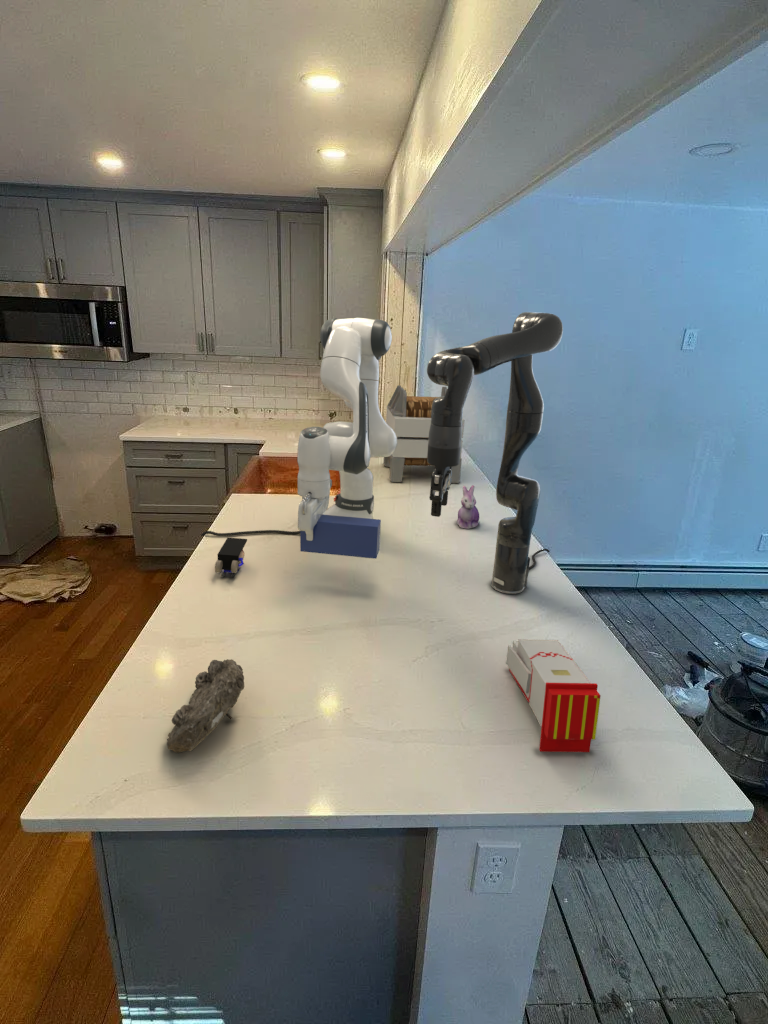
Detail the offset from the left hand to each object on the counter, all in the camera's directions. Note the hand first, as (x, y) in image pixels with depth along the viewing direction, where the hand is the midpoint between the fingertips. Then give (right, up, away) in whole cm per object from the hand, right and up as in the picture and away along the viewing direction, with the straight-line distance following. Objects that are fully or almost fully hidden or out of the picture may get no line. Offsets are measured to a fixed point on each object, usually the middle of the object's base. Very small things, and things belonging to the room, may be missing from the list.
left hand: (313, 534), depth 159 cm
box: (+7, -5, 0) cm, 9 cm away
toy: (+52, -33, -43) cm, 75 cm away
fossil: (-13, -33, -51) cm, 62 cm away
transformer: (+37, +25, +116) cm, 124 cm away
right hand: (+33, +7, -24) cm, 41 cm away
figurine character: (-25, -11, +9) cm, 29 cm away
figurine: (+51, +2, +52) cm, 73 cm away
